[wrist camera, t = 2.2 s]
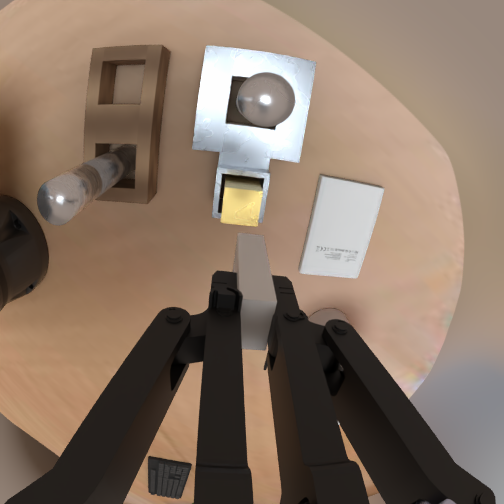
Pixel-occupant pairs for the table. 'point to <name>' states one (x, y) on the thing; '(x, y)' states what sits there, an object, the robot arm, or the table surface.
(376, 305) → the table surface
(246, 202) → the yellow piece
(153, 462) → the dark grey ribbed block
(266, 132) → the block
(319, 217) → the external hard drive
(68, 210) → the test tube
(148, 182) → the rack
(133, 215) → the table surface
